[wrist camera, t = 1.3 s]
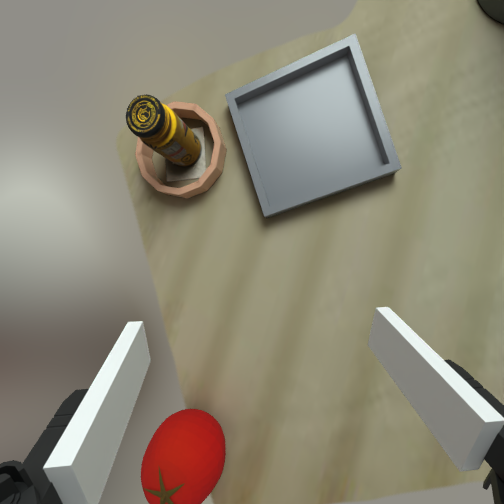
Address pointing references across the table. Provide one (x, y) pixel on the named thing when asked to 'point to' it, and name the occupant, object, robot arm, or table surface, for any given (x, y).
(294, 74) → the tray
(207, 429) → the tomato
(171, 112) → the condiment
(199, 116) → the ring holder
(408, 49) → the table surface
